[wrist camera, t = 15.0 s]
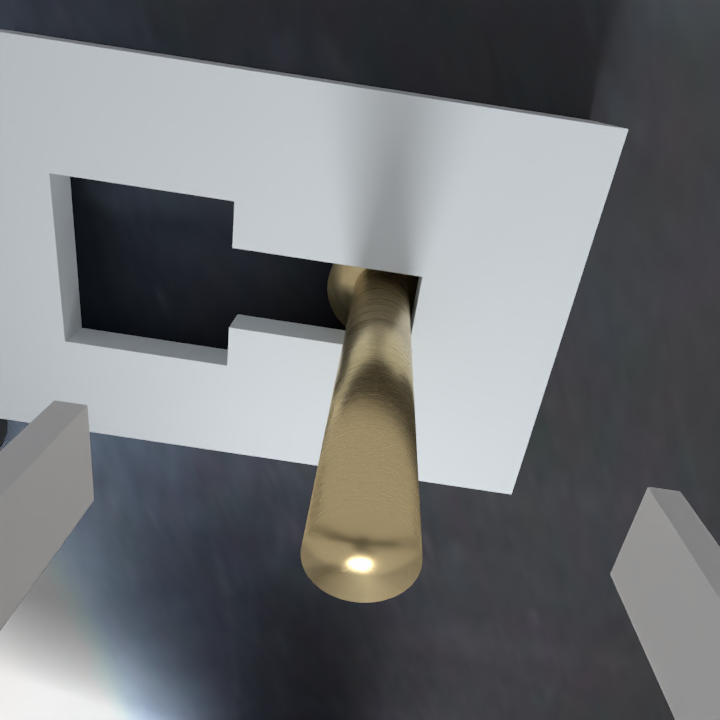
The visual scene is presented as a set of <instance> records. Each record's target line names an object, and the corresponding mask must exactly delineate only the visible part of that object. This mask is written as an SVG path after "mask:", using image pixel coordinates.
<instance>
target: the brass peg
mask: <svg viewBox="0 0 720 720" xmlns="http://www.w3.org/2000/svg"><path fill="white" fill-rule="evenodd" d="M418 279H419V276H414V275H407V274H401V273H394V272H388V271H381V270H374V269H368V268H361V267H355V266H348V265H341V264H335V263H333V265H332V268H331V271H330V274H329V277H328V282H327V293H328V299H329V303H330V306H331V309H332V310H333V312H334V314H335V316H336V317H337V319H338V320H339V321H340V322H341V323H342V324H343V325H344V326H345V327H346V330H345V335H344V340H343V345H342V350H341V355H340V360H339V365H338V369H337V374H336V379H335V384H334V389H333V394H332V399H331V404H330V409H329V414H328V419H327V424H326V428H325V433H324V438H323V443H322V448H321V453H320V458H319V463H318V468H317V473H316V478H315V483H314V487H313V492H312V497H311V502H310V507H309V512H308V517H307V522H306V527H305V532H304V537H303V541H302V546H301V562H302V565H303V568H304V570H305V572H306V574H307V576H308V577H309V578H310V580H311V581H312V582H313V583H314V584H315V585H316V586H317V587H319V588H320V589H321V590H323V591H324V592H326V593H328V594H330V595H332V596H334V597H337V598H339V599H343V600H346V601H351V602H360V603H370V602H378V601H383V600H387V599H390V598H392V597H395V596H397V595H399V594H401V593H402V592H404V591H405V590H406V589H408V588H409V587H410V586H411V585H412V584H413V583H414V581H415V580H416V579H417V577H418V575H419V573H420V571H421V568H422V539H421V520H420V501H419V481H418V462H417V443H416V424H415V405H414V385H413V366H412V347H411V328H410V321H411V316H412V310H413V305H414V300H415V295H416V290H417V284H418Z"/></svg>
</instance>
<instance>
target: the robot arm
mask: <svg viewBox="0 0 720 720" xmlns="http://www.w3.org/2000/svg"><path fill="white" fill-rule="evenodd" d="M93 501H94V492H93V477H92V463H91V448H90V434H89V419H88V405H83V404H76V403H69V402H62V401H56V400H54V401H53V402H52V403H51V404H50V405H49V406H48V407H47V408H46V409H45V410H43V411H42V412H41V413H40V414H39V415H38V416H37V417H36V418H35V419H34V420H33V421H32V422H31V423H29V424H28V425H27V426H26V427H25V428H24V429H23V430H22V431H21V432H20V433H19V434H18V435H17V436H16V437H14V438H13V439H12V440H11V441H10V442H9V443H8V444H7V445H6V446H5V447H4V448H3V449H2V450H0V630H1V629H2V628H3V626H4V625H5V623H6V622H7V621H8V619H9V618H10V616H11V615H12V614H13V612H14V611H15V610H16V608H17V607H18V605H19V604H20V603H21V601H22V600H23V598H24V597H25V596H26V594H27V593H28V591H29V590H30V589H31V587H32V586H33V584H34V583H35V582H36V580H37V579H38V578H39V576H40V575H41V573H42V572H43V571H44V569H45V568H46V566H47V565H48V564H49V562H50V561H51V559H52V558H53V557H54V555H55V554H56V552H57V551H58V550H59V548H60V547H61V546H62V544H63V543H64V541H65V540H66V539H67V537H68V536H69V534H70V533H71V532H72V530H73V529H74V527H75V526H76V525H77V523H78V522H79V520H80V519H81V518H82V516H83V515H84V514H85V512H86V511H87V509H88V508H89V507H90V505H91V504H92V502H93ZM610 575H611V577H612V579H613V582H614V584H615V586H616V588H617V591H618V593H619V595H620V597H621V600H622V602H623V604H624V606H625V609H626V611H627V613H628V615H629V617H630V620H631V622H632V624H633V626H634V629H635V631H636V633H637V635H638V638H639V640H640V642H641V644H642V647H643V649H644V651H645V653H646V656H647V658H648V660H649V662H650V664H651V667H652V669H653V671H654V673H655V676H656V678H657V680H658V682H659V685H660V687H661V689H662V691H663V694H664V696H665V698H666V700H667V702H668V705H669V707H670V709H671V711H672V714H673V716H674V718H675V720H720V547H719V545H718V544H717V543H716V541H715V540H714V538H713V537H712V536H711V534H710V533H709V531H708V530H707V529H706V527H705V526H704V524H703V523H702V522H701V520H700V519H699V517H698V516H697V514H696V513H695V512H694V510H693V509H692V507H691V506H690V505H689V503H688V502H687V500H686V499H685V498H684V496H683V495H682V493H681V492H680V491H673V490H666V489H659V488H652V487H648V488H647V490H646V493H645V495H644V497H643V500H642V502H641V504H640V507H639V509H638V511H637V513H636V516H635V518H634V520H633V523H632V525H631V527H630V530H629V532H628V534H627V537H626V539H625V541H624V543H623V546H622V548H621V550H620V553H619V555H618V557H617V560H616V562H615V564H614V567H613V569H612V571H611V573H610Z"/></svg>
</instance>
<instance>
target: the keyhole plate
mask: <svg viewBox="0 0 720 720" xmlns="http://www.w3.org/2000/svg"><path fill="white" fill-rule="evenodd" d="M627 132H628V129H625V128H621V127H617V126H613V125H608V124H604V123H600V122H596V121H591V120H586V119H579V118H573V117H566V116H560V115H554V114H547V113H541V112H534V111H528V110H521V109H515V108H508V107H502V106H495V105H489V104H483V103H476V102H470V101H463V100H457V99H450V98H444V97H437V96H431V95H424V94H418V93H412V92H405V91H399V90H392V89H386V88H379V87H373V86H366V85H360V84H354V83H347V82H341V81H334V80H328V79H321V78H315V77H308V76H302V75H295V74H289V73H283V72H276V71H270V70H263V69H257V68H250V67H244V66H237V65H231V64H224V63H218V62H212V61H205V60H199V59H192V58H186V57H179V56H173V55H166V54H160V53H153V52H147V51H141V50H134V49H128V48H121V47H115V46H108V45H102V44H95V43H89V42H83V41H76V40H70V39H63V38H57V37H50V36H44V35H37V34H31V33H24V32H18V31H11V30H2V29H0V419H7V420H14V421H20V422H27V423H31V422H32V421H33V420H34V419H35V418H36V417H37V416H38V415H39V414H40V413H41V412H42V411H43V410H45V409H46V408H47V407H48V406H49V405H50V404H51V403H52V402H53V401H54V400H56V401H62V402H69V403H76V404H83V405H88V419H89V432H94V433H101V434H108V435H115V436H121V437H128V438H135V439H142V440H148V441H155V442H162V443H168V444H175V445H182V446H189V447H195V448H202V449H209V450H216V451H222V452H229V453H236V454H243V455H249V456H256V457H263V458H269V459H276V460H283V461H290V462H296V463H303V464H310V465H317V466H318V463H319V458H320V453H321V448H322V443H323V438H324V433H325V428H326V424H327V419H328V414H329V409H330V404H331V399H332V394H333V389H334V384H335V379H336V374H337V369H338V365H339V360H340V355H341V350H342V345H343V340H344V335H345V330H339V329H332V328H326V327H319V326H312V325H306V324H299V323H293V322H286V321H279V320H273V319H266V318H259V317H253V316H246V315H240V314H238V315H237V316H236V318H235V319H234V321H233V322H232V324H231V325H230V327H229V336H228V350H226V349H220V348H213V347H206V346H200V345H193V344H186V343H180V342H173V341H166V340H160V339H153V338H146V337H140V336H133V335H126V334H120V333H113V332H106V331H100V330H93V329H86V328H82V323H81V310H80V298H79V285H78V272H77V259H76V246H75V234H74V221H73V208H72V195H71V182H70V176H71V177H78V178H84V179H91V180H97V181H104V182H110V183H117V184H124V185H130V186H137V187H143V188H150V189H156V190H163V191H169V192H176V193H182V194H189V195H196V196H202V197H209V198H215V199H222V200H228V201H234V220H233V243H232V248H236V249H243V250H249V251H256V252H262V253H269V254H276V255H282V256H289V257H295V258H302V259H309V260H315V261H322V262H328V263H335V264H341V265H348V266H355V267H361V268H368V269H374V270H381V271H388V272H394V273H401V274H407V275H414V276H419V279H418V284H417V290H416V295H415V300H414V305H413V310H412V316H411V321H410V328H411V347H412V366H413V385H414V405H415V424H416V443H417V462H418V481H424V482H431V483H438V484H445V485H451V486H458V487H465V488H472V489H478V490H485V491H492V492H498V493H505V494H512V491H513V488H514V485H515V482H516V479H517V476H518V473H519V469H520V466H521V463H522V460H523V457H524V454H525V451H526V448H527V444H528V441H529V438H530V435H531V432H532V429H533V426H534V423H535V419H536V416H537V413H538V410H539V407H540V404H541V401H542V398H543V394H544V391H545V388H546V385H547V382H548V379H549V376H550V373H551V370H552V366H553V363H554V360H555V357H556V354H557V351H558V348H559V345H560V341H561V338H562V335H563V332H564V329H565V326H566V323H567V320H568V316H569V313H570V310H571V307H572V304H573V301H574V298H575V295H576V291H577V288H578V285H579V282H580V279H581V276H582V273H583V270H584V266H585V263H586V260H587V257H588V254H589V251H590V248H591V245H592V241H593V238H594V235H595V232H596V229H597V226H598V223H599V220H600V216H601V213H602V210H603V207H604V204H605V201H606V198H607V195H608V191H609V188H610V185H611V182H612V179H613V176H614V173H615V170H616V166H617V163H618V160H619V157H620V154H621V151H622V148H623V145H624V141H625V138H626V135H627Z"/></svg>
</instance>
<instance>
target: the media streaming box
mask: <svg viewBox="0 0 720 720" xmlns="http://www.w3.org/2000/svg"><path fill="white" fill-rule="evenodd" d="M6 432H7V419H0V447H1V445H2V444H3V442H4V439H5V437H6Z"/></svg>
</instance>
